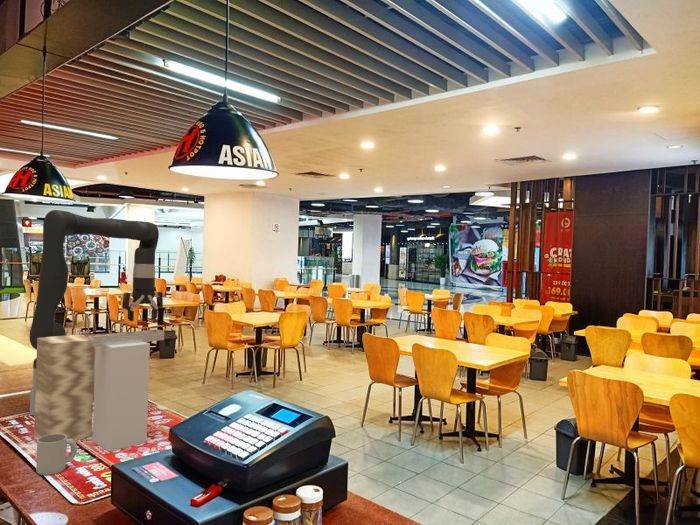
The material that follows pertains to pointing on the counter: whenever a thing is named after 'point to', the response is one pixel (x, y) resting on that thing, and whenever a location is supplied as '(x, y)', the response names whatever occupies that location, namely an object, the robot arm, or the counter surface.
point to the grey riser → (121, 395)
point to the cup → (53, 453)
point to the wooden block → (125, 338)
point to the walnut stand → (64, 386)
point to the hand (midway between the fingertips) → (142, 320)
